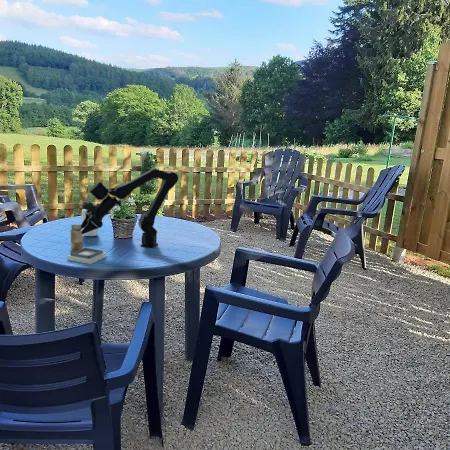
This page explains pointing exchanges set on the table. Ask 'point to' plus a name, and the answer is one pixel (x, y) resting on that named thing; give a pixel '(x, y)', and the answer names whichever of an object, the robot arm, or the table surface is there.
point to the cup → (90, 233)
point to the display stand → (86, 255)
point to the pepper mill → (76, 237)
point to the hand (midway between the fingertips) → (81, 230)
